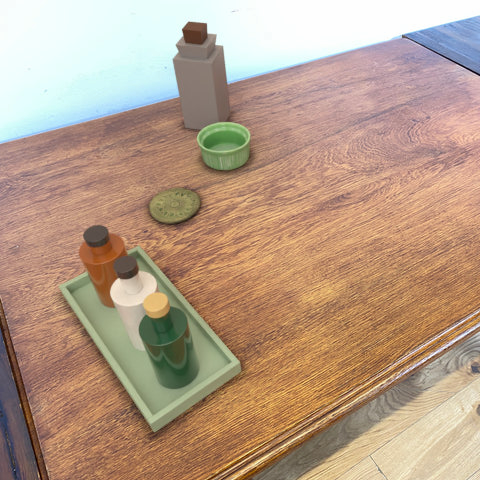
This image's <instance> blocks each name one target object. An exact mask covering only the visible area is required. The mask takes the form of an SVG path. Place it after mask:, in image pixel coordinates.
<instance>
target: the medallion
mask: <svg viewBox="0 0 480 480" xmlns="http://www.w3.org/2000/svg"><path fill="white" fill-rule="evenodd" d="M201 203H202V202H201V197H200V196H199V194H198V193H196V191H195V192H194V191H193V190H190V189H188V188H184V187H183V188H182V187H176V188H175V187H173V188H170V189H167V190H163V191H160V192H158V193H157V194H156V195H154V196H153V197H152V199H151V200H150V201H149V204H148V212H149V213H150V215H151V217H152V218H153V219H154V220H155V221H157V222H159V223H162V224H165V225H175V224H179V223H182V222H185V221H187V220H189V219H190V218H191V217H193V216H195V214H196V213H197V212H198V210H199V209H200V207H201Z"/></svg>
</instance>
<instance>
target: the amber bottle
mask: <svg viewBox="0 0 480 480" xmlns="http://www.w3.org/2000/svg"><path fill="white" fill-rule="evenodd" d="M82 238H83V240H84V241H83V243H82V244H81V245H80V247H79V250H78V257H79V259H80V261H81V263H82V265H83V268H84V270H85V272H87V274H88V276H89V279H90V281H91V283H92V285H93V288H94V290H95V292H96V294H97V296H98V299H99V301H100V302H101V303H102V304H103V305H104V306H106V307H110V308H115V305H114V303H113V301H112V298H111V295H110V290H111V287H112V285H113V283H114V282H115V281H116V280H117V279H118V277H117V276H116V273H115V271H114V268H113V264H114V262H115V261H116V260H117V259H118V258H120V257H122V256H129V255H128V252H127V251H128V250H127V247H126V244H125V241H124V239H123V238H122V237H121V236H120V235H118V234H115V233H113V232H110V231H109V229H108V228H107V227H106V226H105V225H102V224H95V225H92V226H89V227H88V228H86V229H85V230H84V231H83V234H82Z"/></svg>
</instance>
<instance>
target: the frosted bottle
mask: <svg viewBox="0 0 480 480" xmlns="http://www.w3.org/2000/svg"><path fill="white" fill-rule="evenodd" d="M113 268H114V271H115V273H116V276H117V277H118V279H117V280H116V281H115V282H114V283H113V285H112V287H111V290H110V295H111V298H112V301H113V303H114V305H115V308H116V310H117V312H118V315H119V317H120V319H121V322H122V324H123V327H124V329H125V331H126V334H127V336H128V338H129V341H130V343H131V345H132V346H133V347H134V348H136V349H137V350H140V351H146V350H145V348H144V345H143V343H142V340H141V338H140V335H139V324H140V322H141V320H142V318H143V317H144V316H145V315H146V312H145V309H144V307H143V302H144V299H145V298H146V297H147V296H148V295H150V294H152V293H155V292H160V291H159V288H158V285H157V281H156V279H155V278H154V276H153V275H151V274H150V273H147V272H144V271H139V266H138V263H137V261H136V259H135V258H134V257H132V256H122V257H120V258H118V259H117V260H116V261H115V262H114V264H113Z"/></svg>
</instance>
